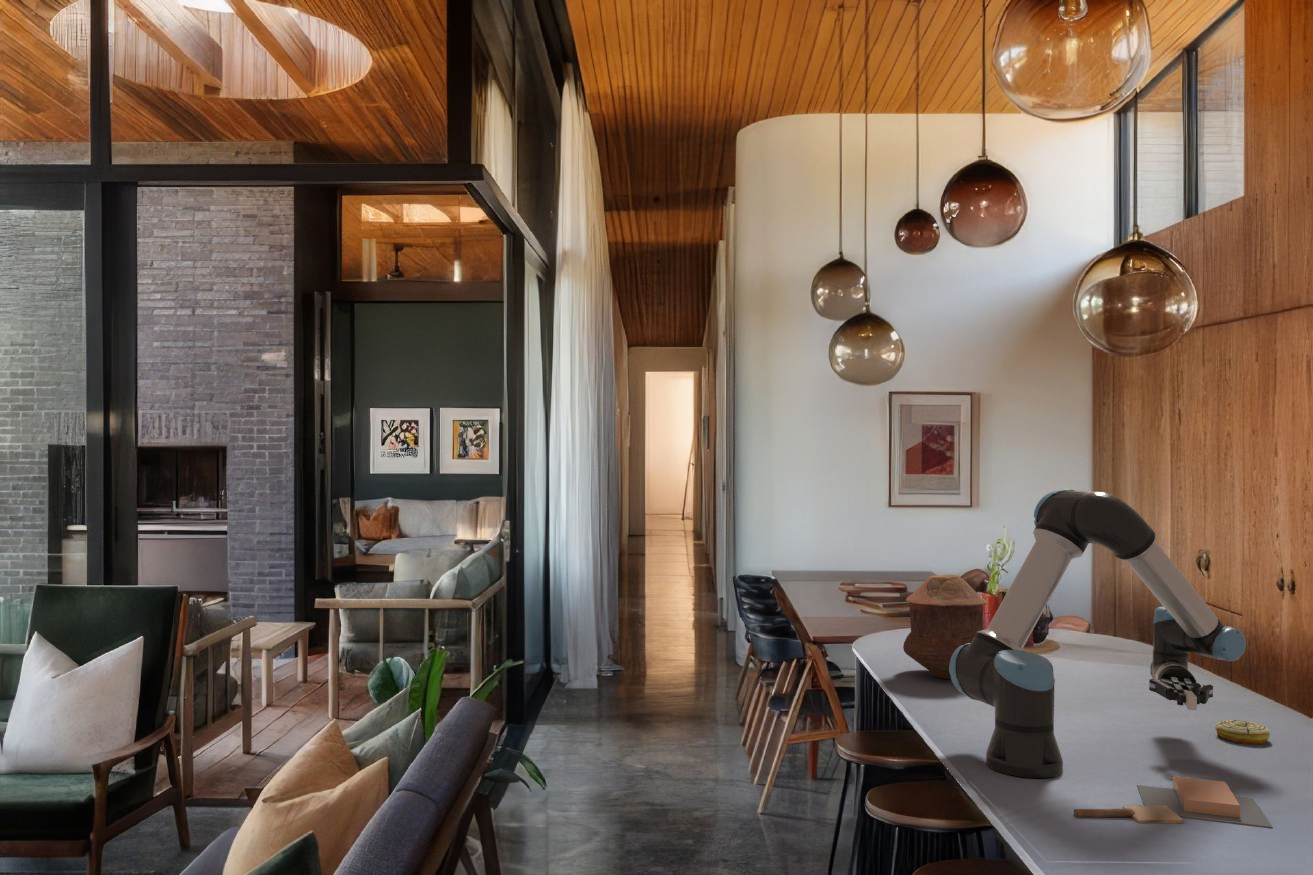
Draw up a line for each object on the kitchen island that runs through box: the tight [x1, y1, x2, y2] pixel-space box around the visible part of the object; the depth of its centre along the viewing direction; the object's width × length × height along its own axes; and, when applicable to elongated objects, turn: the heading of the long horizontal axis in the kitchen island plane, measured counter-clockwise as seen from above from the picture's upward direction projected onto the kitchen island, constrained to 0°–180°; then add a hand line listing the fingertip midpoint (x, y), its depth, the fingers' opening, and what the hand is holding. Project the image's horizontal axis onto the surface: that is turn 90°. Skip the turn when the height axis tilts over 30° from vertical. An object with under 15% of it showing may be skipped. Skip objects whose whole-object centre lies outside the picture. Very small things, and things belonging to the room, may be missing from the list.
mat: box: [1136, 784, 1274, 829], centre depth 185 cm, size 20×16×1 cm
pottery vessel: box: [902, 574, 989, 680], centre depth 295 cm, size 26×26×30 cm
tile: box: [1172, 776, 1240, 818], centre depth 187 cm, size 9×2×14 cm
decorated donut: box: [1214, 719, 1271, 745], centre depth 231 cm, size 10×11×4 cm
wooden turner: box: [1073, 805, 1184, 824], centre depth 180 cm, size 18×6×1 cm, turn 90°
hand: (1192, 703), depth 205 cm, fingers closed
